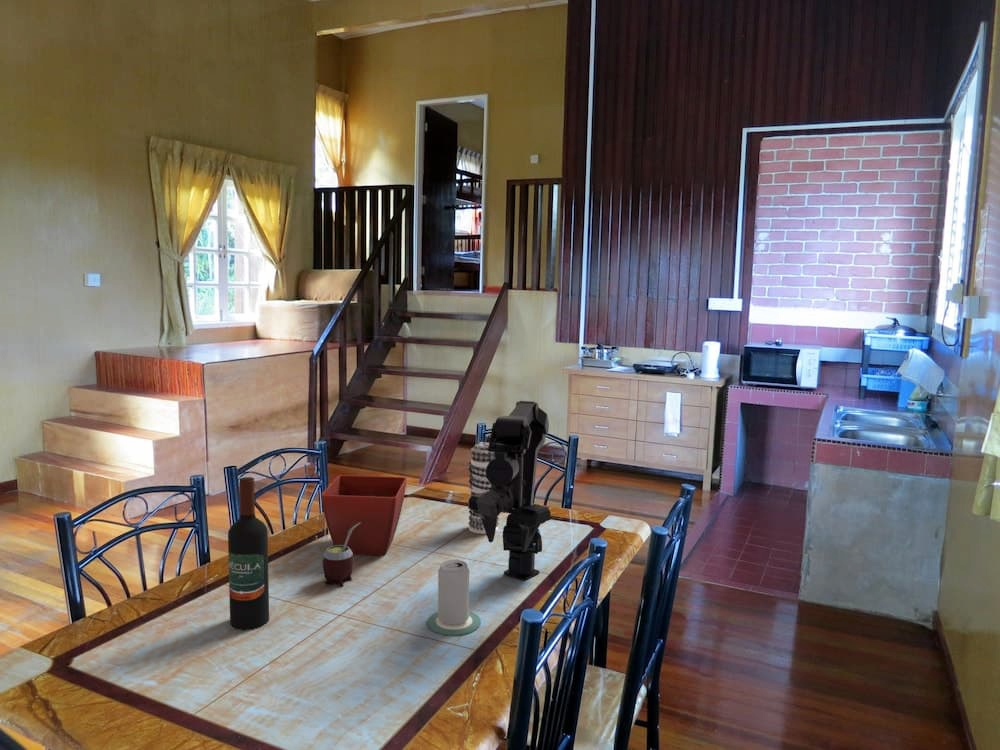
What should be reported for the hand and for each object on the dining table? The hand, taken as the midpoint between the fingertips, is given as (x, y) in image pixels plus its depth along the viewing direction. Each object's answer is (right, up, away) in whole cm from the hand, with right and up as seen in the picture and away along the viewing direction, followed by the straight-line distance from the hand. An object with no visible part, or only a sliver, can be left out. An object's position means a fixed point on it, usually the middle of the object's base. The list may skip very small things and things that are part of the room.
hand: (507, 546), depth 156 cm
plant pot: (-37, -9, +35) cm, 52 cm away
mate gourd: (-39, -11, +12) cm, 42 cm away
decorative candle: (-6, -7, +51) cm, 52 cm away
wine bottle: (-53, -14, -9) cm, 55 cm away
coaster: (-11, -14, -7) cm, 19 cm away
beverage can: (-11, -14, -7) cm, 19 cm away
